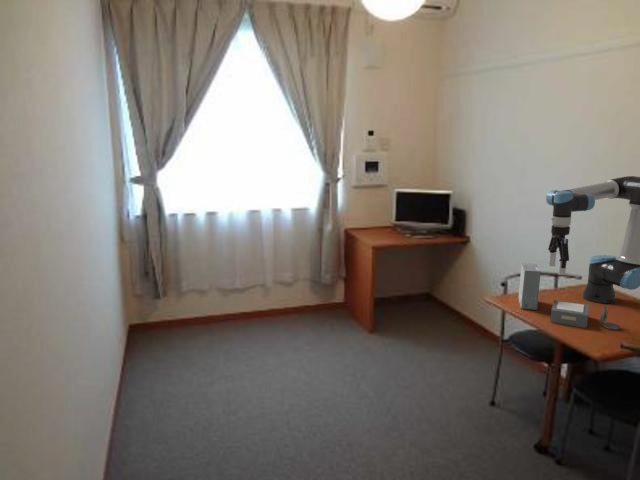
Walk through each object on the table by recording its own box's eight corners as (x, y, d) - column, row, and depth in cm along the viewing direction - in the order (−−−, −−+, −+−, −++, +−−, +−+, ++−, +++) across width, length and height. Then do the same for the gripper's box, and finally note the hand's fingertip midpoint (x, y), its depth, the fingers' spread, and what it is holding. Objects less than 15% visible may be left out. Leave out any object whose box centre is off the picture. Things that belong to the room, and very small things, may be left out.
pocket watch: (622, 330, 224) (624, 309, 221) (601, 329, 225) (604, 308, 223) (615, 323, 231) (618, 303, 229) (595, 322, 233) (598, 302, 231)
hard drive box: (537, 310, 249) (540, 271, 244) (520, 309, 251) (524, 270, 246) (533, 300, 263) (536, 263, 259) (517, 298, 265) (520, 262, 261)
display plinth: (587, 316, 240) (588, 304, 238) (586, 328, 227) (587, 314, 225) (552, 311, 247) (554, 299, 246) (550, 322, 234) (551, 309, 233)
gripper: (543, 220, 241) (539, 262, 246) (561, 231, 217) (557, 278, 222) (560, 220, 240) (556, 263, 245) (580, 231, 216) (575, 278, 221)
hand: (556, 270), depth 234 cm, fingers open, 13 cm apart
